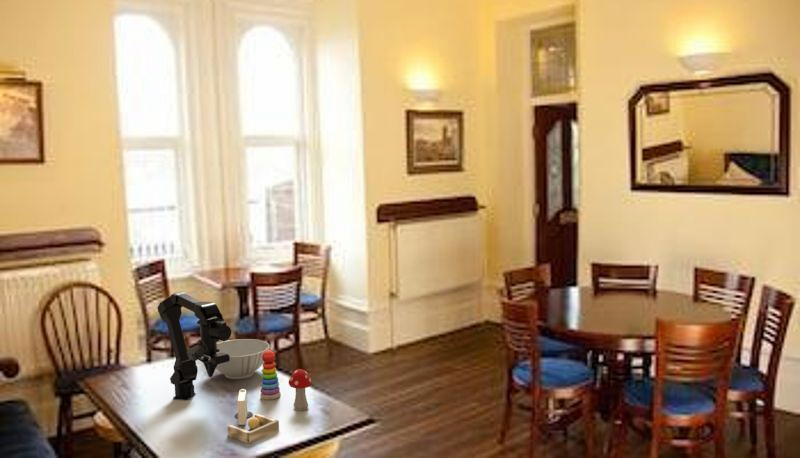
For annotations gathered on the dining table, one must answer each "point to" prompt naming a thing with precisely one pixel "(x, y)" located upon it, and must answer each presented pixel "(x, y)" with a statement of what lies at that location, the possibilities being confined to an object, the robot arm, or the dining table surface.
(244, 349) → the decorative bowl
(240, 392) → the lever
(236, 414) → the pivot plate
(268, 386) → the stacking toy
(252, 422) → the ball
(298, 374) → the decorative mushroom
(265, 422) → the tray
